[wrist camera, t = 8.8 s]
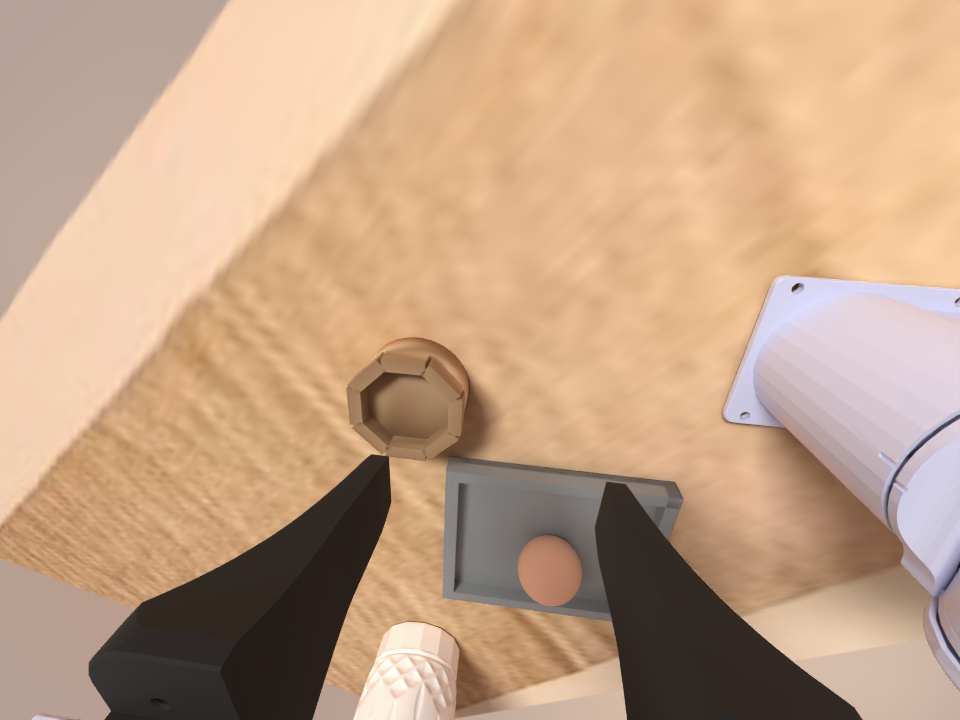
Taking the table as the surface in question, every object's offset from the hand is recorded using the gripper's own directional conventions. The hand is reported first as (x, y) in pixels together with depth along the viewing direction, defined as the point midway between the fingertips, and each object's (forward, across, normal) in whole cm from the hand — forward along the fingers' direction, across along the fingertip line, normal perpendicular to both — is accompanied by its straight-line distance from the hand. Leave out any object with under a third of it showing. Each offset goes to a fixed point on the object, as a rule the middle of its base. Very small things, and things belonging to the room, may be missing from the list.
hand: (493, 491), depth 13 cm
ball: (+9, -4, +13) cm, 17 cm away
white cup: (+10, +5, +28) cm, 30 cm away
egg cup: (+10, +5, +2) cm, 11 cm away
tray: (+10, -4, +13) cm, 17 cm away
